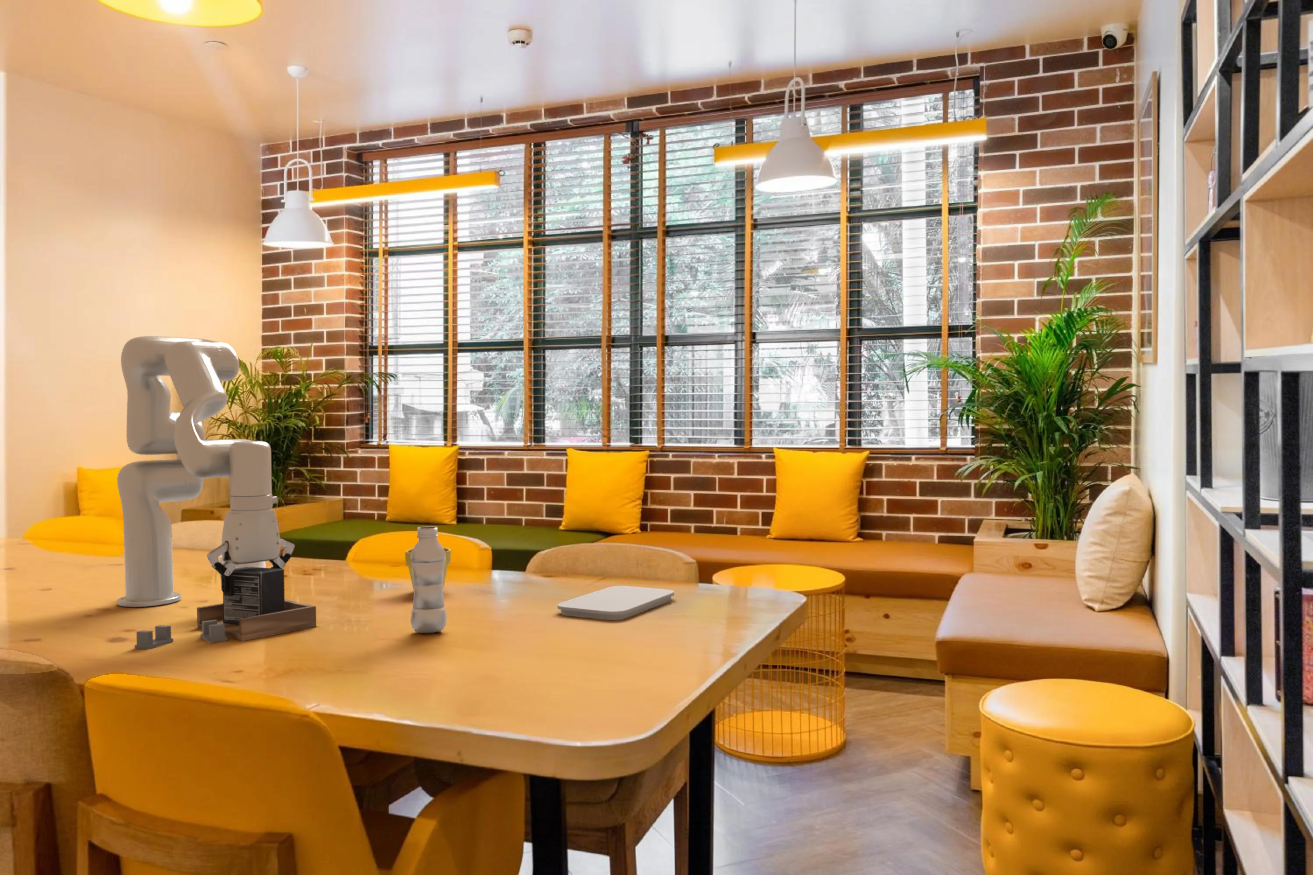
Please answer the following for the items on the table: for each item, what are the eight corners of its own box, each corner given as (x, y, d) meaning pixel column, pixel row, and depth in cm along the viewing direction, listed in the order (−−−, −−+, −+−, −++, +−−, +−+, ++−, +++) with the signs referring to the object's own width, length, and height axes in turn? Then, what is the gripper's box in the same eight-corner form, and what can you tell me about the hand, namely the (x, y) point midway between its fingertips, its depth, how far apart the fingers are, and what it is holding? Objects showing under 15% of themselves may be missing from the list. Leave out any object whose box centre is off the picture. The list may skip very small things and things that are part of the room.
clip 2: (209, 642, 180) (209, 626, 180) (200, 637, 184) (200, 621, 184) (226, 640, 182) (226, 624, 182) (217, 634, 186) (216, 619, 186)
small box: (287, 620, 193) (286, 567, 193) (262, 627, 187) (260, 573, 187) (247, 616, 198) (246, 564, 197) (221, 623, 192) (220, 569, 191)
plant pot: (446, 595, 224) (445, 552, 223) (400, 595, 224) (399, 553, 223) (455, 587, 234) (455, 546, 234) (412, 587, 234) (411, 546, 234)
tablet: (551, 616, 201) (551, 605, 201) (615, 594, 224) (615, 584, 224) (619, 624, 194) (619, 612, 194) (679, 600, 217) (679, 590, 217)
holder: (197, 627, 193) (196, 607, 193) (269, 614, 204) (269, 595, 204) (242, 640, 181) (241, 619, 181) (316, 626, 192) (315, 606, 192)
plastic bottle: (413, 629, 189) (411, 525, 189) (449, 628, 190) (447, 525, 189) (408, 636, 183) (406, 530, 182) (445, 635, 183) (443, 529, 183)
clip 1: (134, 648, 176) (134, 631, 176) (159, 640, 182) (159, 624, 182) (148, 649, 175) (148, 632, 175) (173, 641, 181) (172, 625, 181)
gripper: (282, 499, 201) (284, 582, 201) (197, 506, 187) (199, 595, 188) (302, 502, 196) (303, 587, 196) (216, 509, 183) (218, 600, 183)
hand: (252, 591), depth 192 cm, fingers open, 9 cm apart
